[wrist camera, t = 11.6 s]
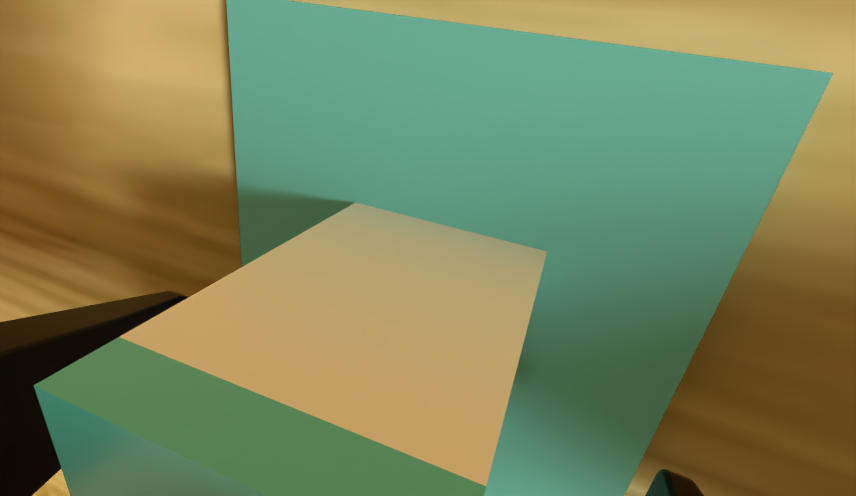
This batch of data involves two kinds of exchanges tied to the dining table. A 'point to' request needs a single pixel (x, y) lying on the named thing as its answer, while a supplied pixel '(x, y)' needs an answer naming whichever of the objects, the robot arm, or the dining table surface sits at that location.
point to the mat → (528, 193)
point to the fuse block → (310, 371)
